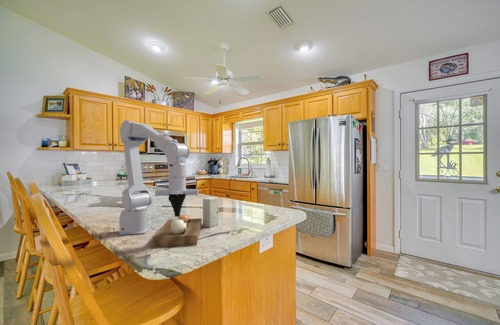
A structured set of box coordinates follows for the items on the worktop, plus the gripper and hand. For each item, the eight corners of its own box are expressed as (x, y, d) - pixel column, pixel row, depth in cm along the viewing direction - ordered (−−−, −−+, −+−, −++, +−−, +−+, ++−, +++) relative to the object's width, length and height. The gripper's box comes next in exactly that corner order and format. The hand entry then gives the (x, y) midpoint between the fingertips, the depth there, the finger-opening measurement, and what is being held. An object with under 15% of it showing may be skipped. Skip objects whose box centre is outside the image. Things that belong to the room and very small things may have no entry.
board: (153, 247, 71) (153, 237, 71) (168, 227, 93) (168, 219, 93) (196, 244, 73) (196, 235, 73) (201, 225, 95) (201, 218, 95)
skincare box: (210, 227, 92) (210, 199, 92) (202, 226, 94) (202, 198, 94) (219, 224, 97) (219, 197, 97) (211, 222, 99) (211, 196, 99)
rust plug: (177, 227, 87) (177, 217, 87) (179, 224, 92) (179, 214, 92) (188, 226, 88) (188, 217, 88) (189, 223, 92) (189, 214, 92)
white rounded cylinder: (169, 234, 74) (169, 222, 74) (172, 230, 78) (172, 219, 78) (182, 233, 74) (182, 222, 74) (184, 229, 78) (184, 219, 78)
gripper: (152, 178, 71) (152, 219, 71) (197, 177, 73) (197, 218, 73) (158, 177, 78) (158, 214, 78) (199, 176, 80) (199, 213, 80)
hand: (177, 216), depth 76 cm, fingers closed
